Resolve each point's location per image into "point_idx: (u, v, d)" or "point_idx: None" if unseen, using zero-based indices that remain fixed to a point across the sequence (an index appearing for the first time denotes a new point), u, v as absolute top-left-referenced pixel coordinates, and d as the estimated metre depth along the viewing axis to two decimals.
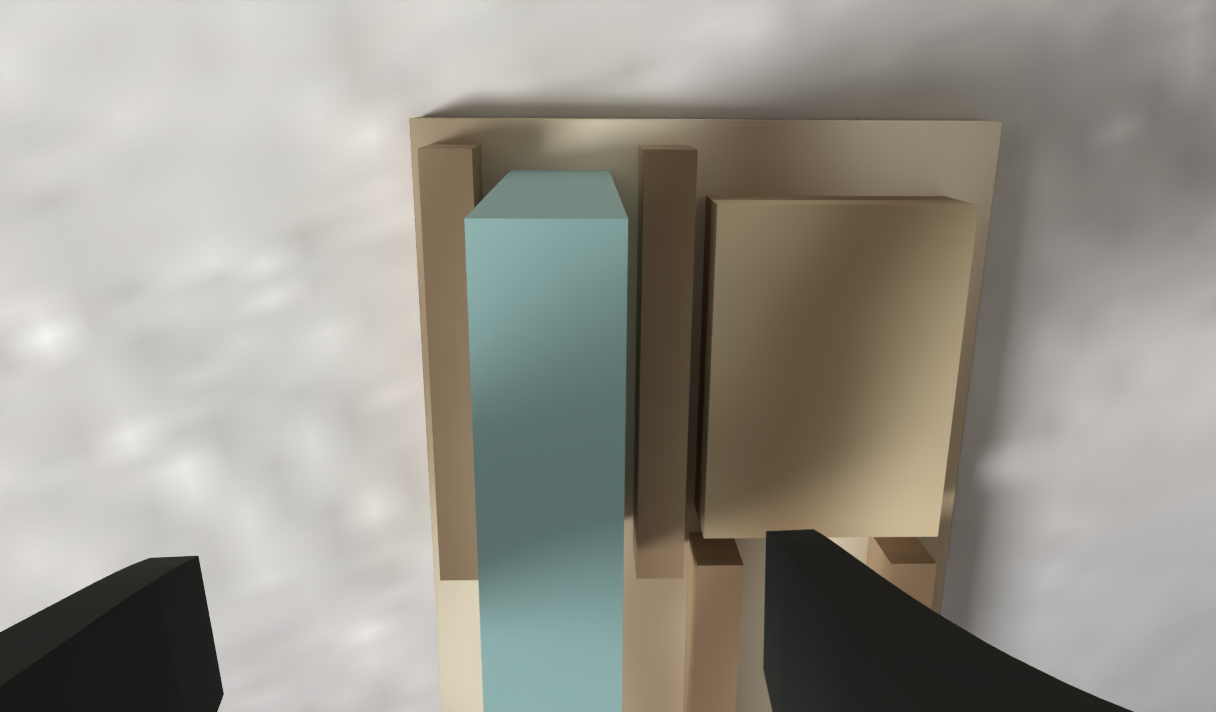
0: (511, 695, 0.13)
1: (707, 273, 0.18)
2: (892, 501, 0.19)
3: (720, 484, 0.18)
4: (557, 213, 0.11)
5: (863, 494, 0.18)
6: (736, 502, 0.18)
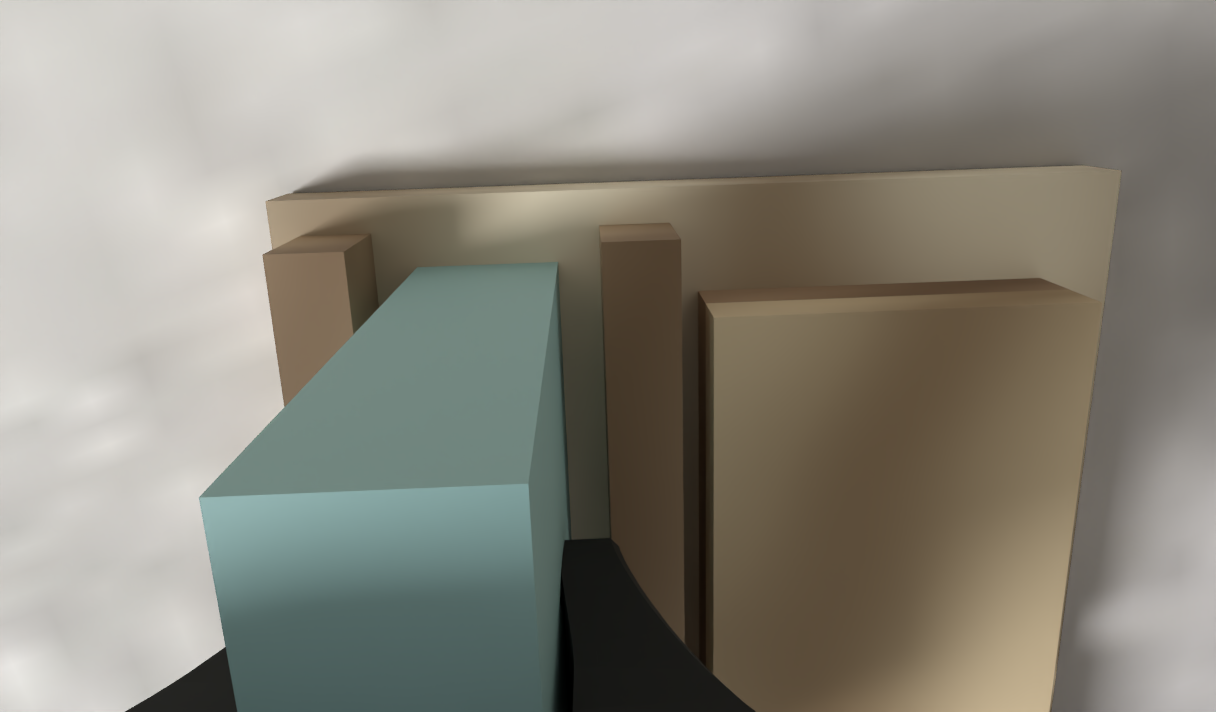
0: None
1: (704, 403, 0.13)
2: (979, 711, 0.13)
3: None
4: (400, 457, 0.06)
5: (937, 705, 0.13)
6: None
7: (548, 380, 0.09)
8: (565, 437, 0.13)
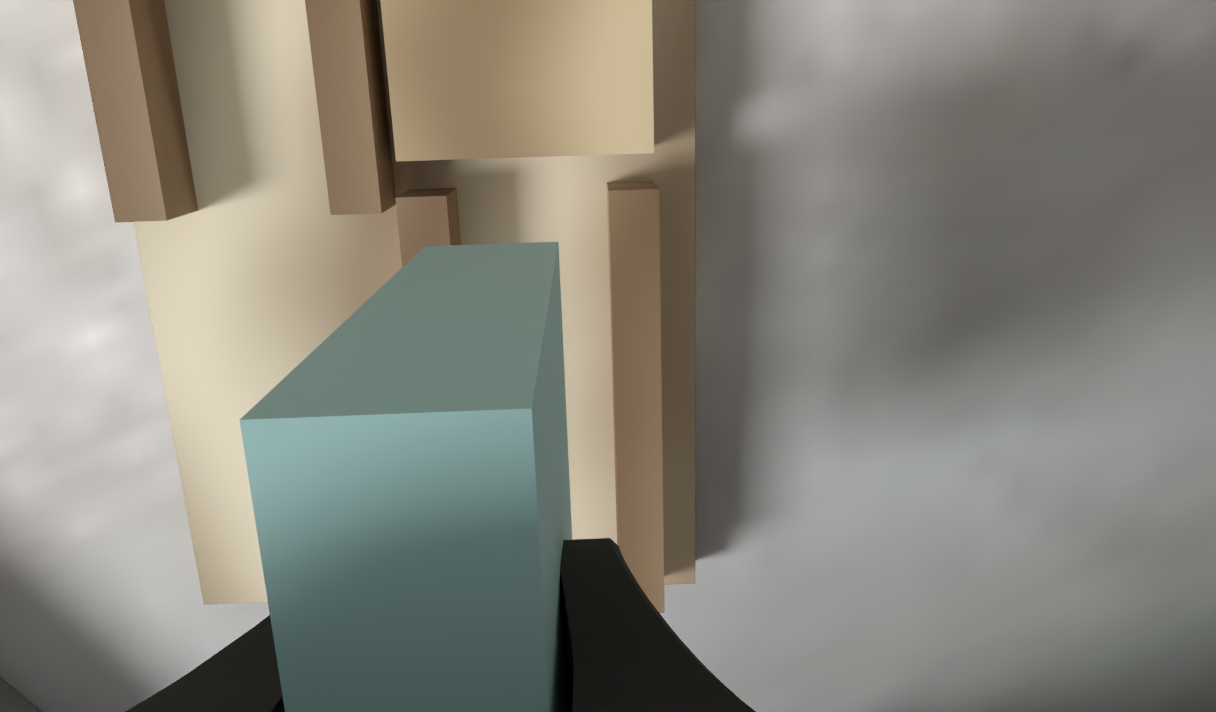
0: None
1: None
2: (598, 110, 0.17)
3: (405, 94, 0.17)
4: (416, 390, 0.07)
5: (565, 102, 0.17)
6: (426, 116, 0.17)
7: (549, 340, 0.09)
8: (565, 408, 0.13)
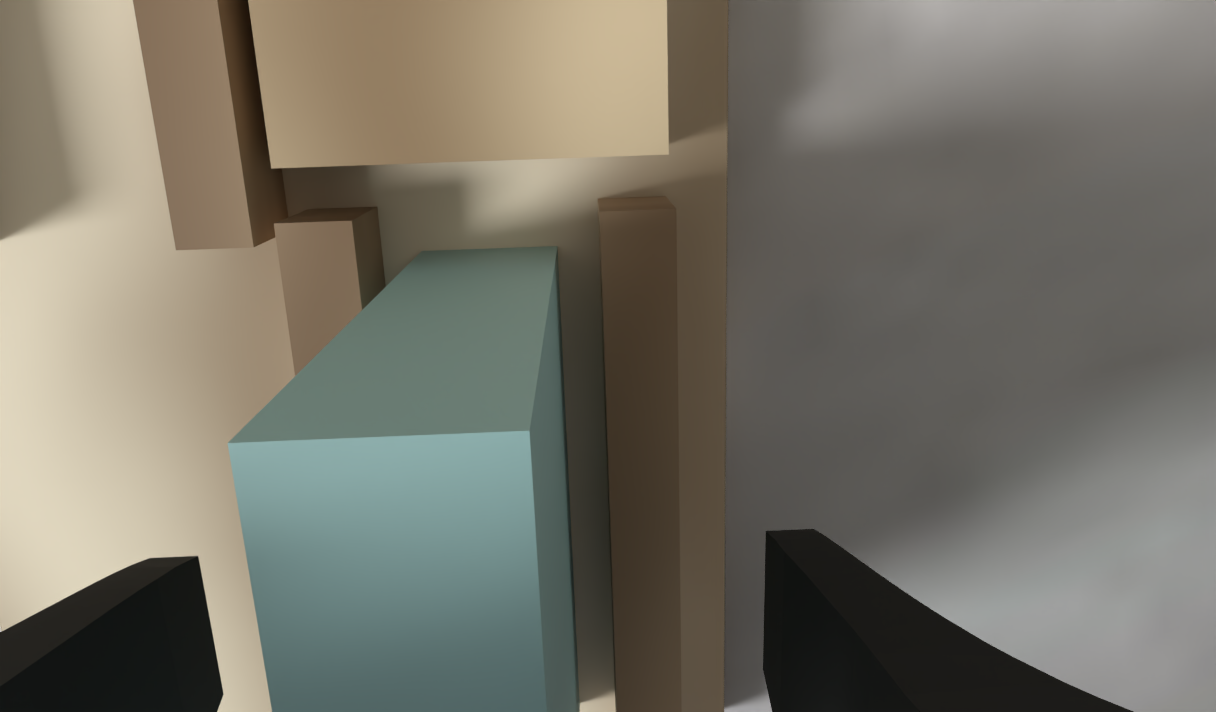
0: None
1: None
2: (582, 88, 0.11)
3: (281, 63, 0.11)
4: (411, 410, 0.06)
5: (530, 76, 0.11)
6: (316, 98, 0.11)
7: (548, 351, 0.09)
8: (564, 415, 0.13)
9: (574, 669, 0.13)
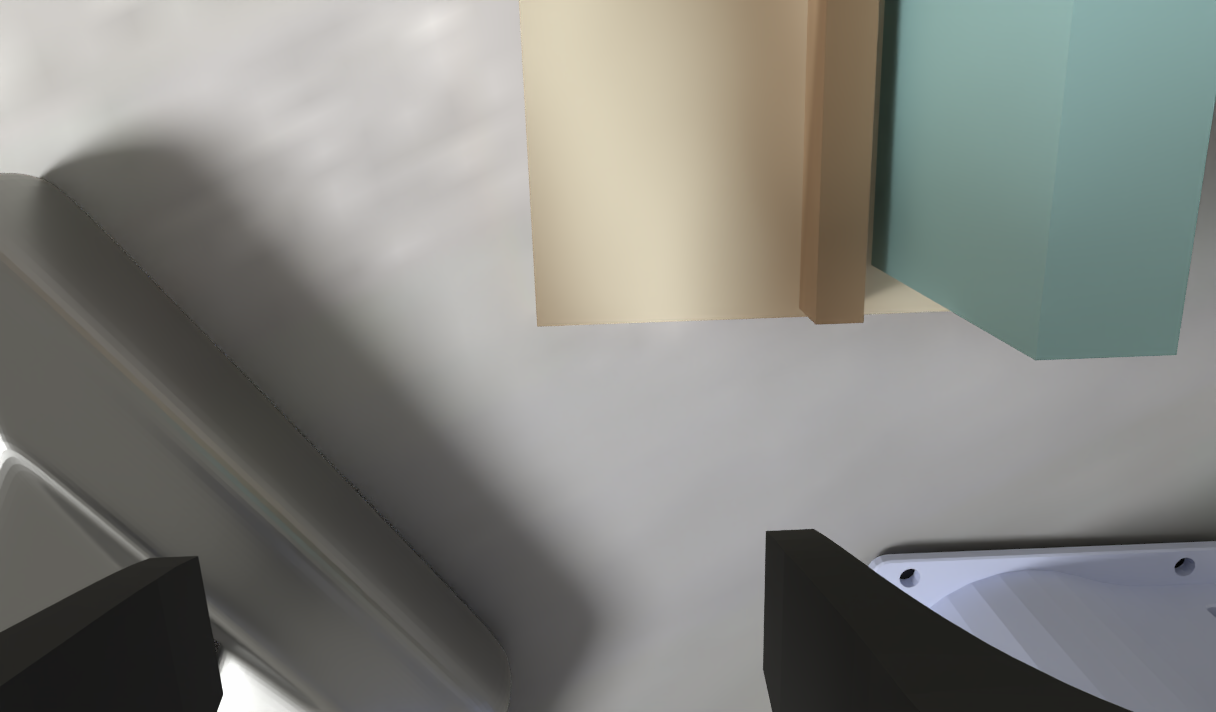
0: (1073, 278, 0.12)
1: None
2: None
3: None
4: None
5: None
6: None
7: None
8: None
9: None
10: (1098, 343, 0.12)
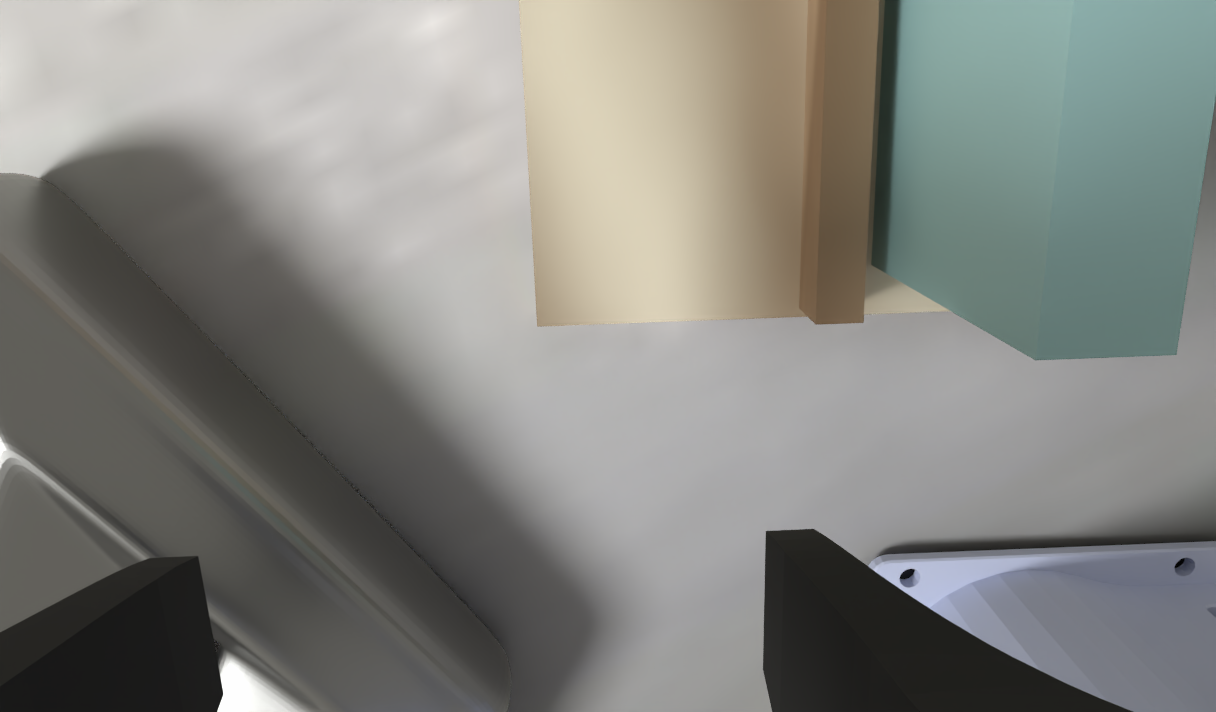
0: (1073, 278, 0.12)
1: None
2: None
3: None
4: None
5: None
6: None
7: None
8: None
9: None
10: (1098, 343, 0.12)
